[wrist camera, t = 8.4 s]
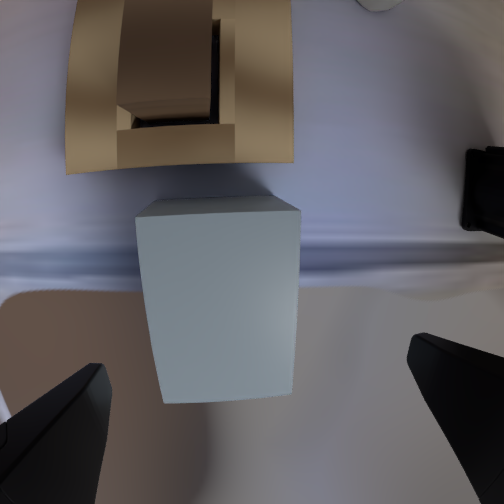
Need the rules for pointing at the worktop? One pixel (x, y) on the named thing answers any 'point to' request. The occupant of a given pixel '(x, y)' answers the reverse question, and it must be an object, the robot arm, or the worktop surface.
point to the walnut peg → (165, 60)
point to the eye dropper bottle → (379, 4)
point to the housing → (221, 295)
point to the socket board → (184, 136)
